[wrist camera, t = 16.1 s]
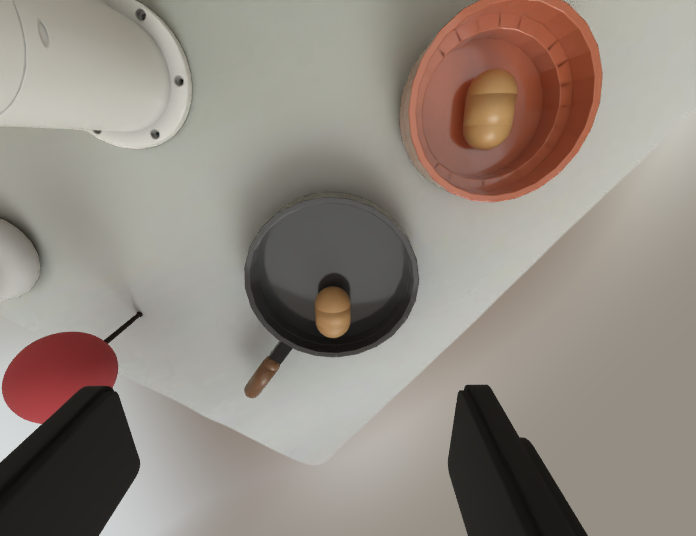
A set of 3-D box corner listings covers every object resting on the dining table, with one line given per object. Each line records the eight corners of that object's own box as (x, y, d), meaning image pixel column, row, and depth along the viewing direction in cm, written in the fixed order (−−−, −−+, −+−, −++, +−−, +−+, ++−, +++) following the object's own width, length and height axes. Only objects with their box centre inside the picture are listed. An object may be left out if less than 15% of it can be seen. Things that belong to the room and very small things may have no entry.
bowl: (373, 70, 31) (379, 53, 25) (535, -17, 28) (582, -56, 23) (429, 215, 36) (445, 229, 30) (571, 152, 33) (616, 154, 28)
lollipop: (109, 278, 38) (-29, 357, 24) (175, 297, 39) (78, 384, 25) (104, 331, 41) (-23, 430, 27) (166, 348, 42) (74, 452, 28)
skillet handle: (283, 330, 38) (280, 340, 36) (298, 339, 39) (295, 349, 37) (244, 385, 41) (239, 396, 39) (258, 392, 42) (253, 404, 40)
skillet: (223, 235, 36) (210, 245, 33) (373, 161, 34) (376, 164, 30) (301, 358, 42) (296, 378, 39) (434, 305, 39) (442, 321, 36)
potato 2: (462, 73, 30) (479, 63, 26) (508, 73, 30) (531, 63, 26) (454, 149, 33) (468, 151, 29) (496, 149, 33) (516, 150, 29)
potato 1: (315, 280, 38) (312, 296, 34) (350, 280, 38) (350, 295, 34) (317, 325, 40) (314, 344, 36) (350, 325, 40) (350, 344, 36)
